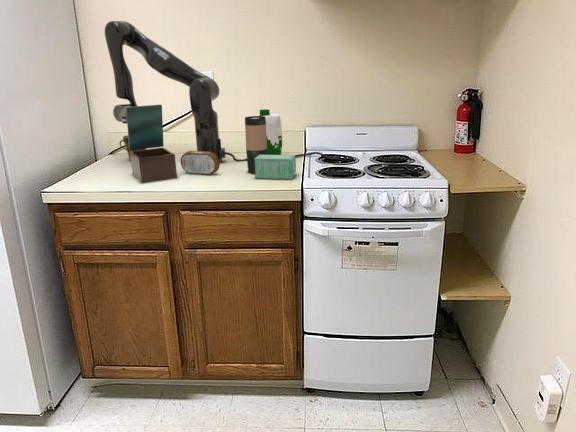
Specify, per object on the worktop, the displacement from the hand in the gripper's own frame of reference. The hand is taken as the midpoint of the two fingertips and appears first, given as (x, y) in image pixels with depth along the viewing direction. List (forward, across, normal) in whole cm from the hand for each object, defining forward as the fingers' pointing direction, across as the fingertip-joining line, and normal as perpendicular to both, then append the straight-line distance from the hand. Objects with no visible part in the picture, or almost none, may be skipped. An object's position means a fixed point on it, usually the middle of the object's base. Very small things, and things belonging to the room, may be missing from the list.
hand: (144, 121), depth 181 cm
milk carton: (+3, +50, +20) cm, 53 cm away
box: (+32, +37, +20) cm, 53 cm away
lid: (0, 0, +2) cm, 2 cm away
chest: (+6, 0, +20) cm, 20 cm away
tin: (+12, +16, +20) cm, 28 cm away
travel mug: (+21, +35, +20) cm, 45 cm away
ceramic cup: (-28, 0, +20) cm, 35 cm away
